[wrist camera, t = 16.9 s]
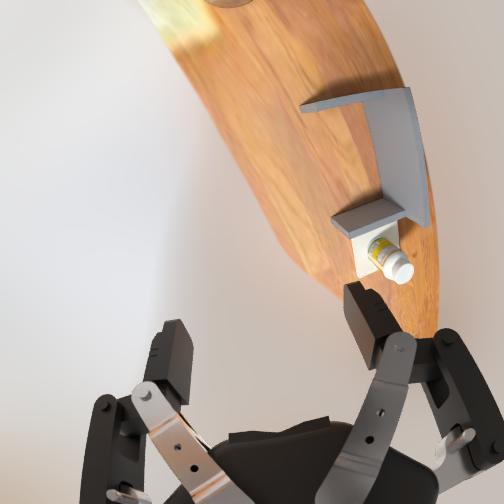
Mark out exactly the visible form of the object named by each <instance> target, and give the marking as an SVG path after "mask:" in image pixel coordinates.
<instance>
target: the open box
mask: <svg viewBox="0 0 504 504" xmlns="http://www.w3.org/2000/svg"><path fill="white" fill-rule="evenodd" d="M358 102H362V103H363V107H364V110H365V114H366V118H367V122H368V125H369V129H370V133H371V138H372V142H373V146H374V151H375V156H376V160H377V166H378V171H379V176H380V182H381V188H382V194H383V198H382V199H379V200H376V201H374V202H371V203H368V204H365V205H363V206H360V207H357V208H355V209H352V210H349V211H346V212H344V213H341V214H338V215H335V216H333V217H331V221H332V224H333V225H334V226H335V227H337V228H338V229H339V230H340V231H341V232H342V233H343V234H344V235H345V236H346V237H347V238H348V239H349V240H350V239H352V238H355V237H357V236H360V235H362V234H365V233H367V232H370V231H372V230H375V229H377V228H380V227H382V226H385V225H387V224H390V223H392V222H395V221H397V220H399V219H402V218H404V217H407V218H409V219H410V220H412V221H414V222H415V223H417V224H419V225H420V226H422V227H423V228H426V227H428V226H430V213H429V196H428V184H427V174H426V166H425V158H424V151H423V145H422V139H421V134H420V128H419V123H418V118H417V114H416V109H415V105H414V101H413V97H412V93H411V90H410V87H404V88H393V89H384V90H376V91H369V92H362V93H357V94H351V95H346V96H341V97H336V98H331V99H327V100H322V101H318V102H314V103H310V104H306V105H302V106H299V108H300V111H301V113H309V112H317V111H321V110H326V109H330V108H334V107H339V106H343V105H348V104H353V103H358Z"/></svg>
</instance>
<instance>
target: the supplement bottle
mask: <svg viewBox="0 0 504 504" xmlns="http://www.w3.org/2000/svg"><path fill="white" fill-rule="evenodd" d="M367 257H368V259H369V260H370V261H371V262H372V263H373V264H374V265H375V266H376V267H377V268H378V269H379V270H380V271H381V272H382V273H383V275H384V276H385V277H387V278H388V279H391V280H394V281H396V282H397V283H398V284H404V283H406V282H408V281H409V280H410V279H411V277H412V275H413V273H414V267H413V265H412V264H411V263H410V262H409V260H408V257H407V255H406V254H405V253H404V252H403V251H402V250H400V249H399V248H398V247H397V246H395V245H394V244H393V243H392V242H390V241H389V240H388V239H386V238H385V237H377V238H374V239H373V240H372V241H371V242H370V243H369V245H368V247H367Z"/></svg>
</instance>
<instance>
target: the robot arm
mask: <svg viewBox="0 0 504 504" xmlns="http://www.w3.org/2000/svg"><path fill="white" fill-rule="evenodd" d="M205 1H206V2H208V3H209V4H211V5H214V6H217V7H223V8H233V7H239V6H242V5H245V4H247V3H249V2H250V1H252V0H205ZM344 314H345V318H346V320H347V322H348V324H349V326H350V329H351V331H352V333H353V335H354V338H355V340H356V342H357V344H358V347H359V349H360V351H361V354H362V356H363V358H364V360H365V363H366V365H367V367H368V370H372V369H375V368H376V370H377V371H376V374H375V377H374V379H373V381H372V383H371V385H370V388H369V391H368V393H367V396H366V398H365V401H364V403H363V405H362V408H361V410H360V412H359V415H358V417H357V419H356V421H355V424H354V425H351V424H348V423H345V422H338V421H330V420H329V416H326V417H322V418H318V419H314V420H310V421H305V422H303V423H300V424H298V425H296V426H293V427H291V428H289V429H286V430H284V431H282V432H277V433H276V432H260V431H247V432H238V433H229V439H228V440H225V441H223V442H221V443H219V444H218V445H216V446H214V447H213V448H211V447H210V445H208V443H206V441H205V440H204V439H203V438H202V437H201V436H200V435H199V434H198V433H197V431H196V430H195V429H194V428H193V427H192V426H191V424H190V423H189V422H188V420H187V419H186V418H185V417H184V415H183V414H182V413H181V412H180V411H181V405H189V395H190V382H191V371H192V361H193V343H192V340H191V337H190V336H189V334H188V332H187V330H186V328H185V326H184V324H183V323H182V321H181V320H180V319H176V320H170V321H165V323H164V326H163V330H162V332H159V333H157V334H156V336H155V337H154V339H153V340H152V344H151V348H150V350H151V351H150V352H149V357H148V361H147V365H146V369H145V374H144V379H143V382H142V383H140V384H139V385H137V386H136V387H135V388H134V390H133V391H132V394H131V395H129V396H126V397H123V398H119V399H116V398H115V397H113V396H112V395H110V394H105V395H102V396H101V397H99V398H98V399H97V400H96V402H95V404H94V408H93V412H92V417H91V422H90V427H89V432H88V437H87V443H86V449H85V456H84V463H83V471H82V479H81V489H80V502H79V503H80V504H152V503H151V499H150V498H149V496H148V495H147V494H146V493H144V467H145V447H146V434H147V433H148V435H149V437H150V439H151V440H152V442H153V444H154V445H155V447H156V448H157V450H158V451H159V453H160V454H161V455H162V457H163V459H164V460H165V461H166V463H167V464H168V466H169V467H170V469H171V470H172V471H173V473H174V474H175V475H176V477H177V478H178V479H179V480H180V482H181V483H182V484H181V485H180V486H179V487H178V488H177V489H176V490H175V491H174V493H173V494H172V495H171V496H170V497H169V498H168V499H167V500H166V502H164V504H436V501H437V497H438V494H440V493H442V492H444V491H446V490H448V489H449V488H452V487H454V486H455V485H457V484H459V483H461V482H462V481H464V480H467V479H469V478H472V477H474V476H476V475H478V474H480V473H482V472H483V471H486V470H487V469H489V468H491V467H493V466H495V465H496V464H498V463H500V462H502V461H503V460H504V420H503V417H502V415H501V413H500V411H499V408H498V406H497V404H496V402H495V400H494V398H493V395H492V393H491V391H490V389H489V387H488V385H487V383H486V381H485V379H484V377H483V375H482V374H481V372H480V370H479V368H478V367H477V364H476V363H475V361H474V359H473V357H472V356H471V354H470V352H469V351H468V349H467V347H466V345H465V344H464V342H463V341H462V339H461V337H460V336H459V334H458V333H457V332H456V331H454V330H452V329H449V328H444V329H440V330H439V331H437V332H436V333H435V335H434V338H423V339H417V338H414V337H413V336H412V335H411V334H409V333H406V332H403V331H402V329H401V327H400V326H399V324H398V323H397V321H396V319H395V318H394V316H393V314H392V313H391V311H390V310H389V309H388V307H387V305H386V303H384V300H383V299H382V297H381V296H380V294H379V293H377V292H376V291H374V290H373V289H367V290H365V289H364V287H363V285H362V284H361V282H360V281H356V282H352V283H349V284H345V285H344ZM411 383H421V385H422V387H423V390H424V392H425V394H426V397H427V399H428V402H429V404H430V407H431V409H432V412H433V415H434V417H435V420H436V423H437V425H438V428H439V431H440V434H441V437H442V440H441V441H440V442H439V443H438V445H437V447H436V453H435V454H436V463H435V466H434V468H433V469H432V470H431V469H430V468H429V467H427V466H425V465H423V464H421V463H420V462H418V461H416V460H414V459H412V458H410V457H408V456H406V455H404V454H403V453H401V452H399V451H397V450H395V449H393V448H392V447H390V443H391V440H392V438H393V435H394V432H395V430H396V427H397V424H398V421H399V418H400V415H401V412H402V409H403V406H404V402H405V399H406V396H407V392H408V384H411Z"/></svg>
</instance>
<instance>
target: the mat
mask: <svg viewBox="0 0 504 504" xmlns="http://www.w3.org/2000/svg"><path fill="white" fill-rule="evenodd" d="M377 237H385V238H386V239H388V240H389V241H390V242H392V243H393V244H394V245H395V246H397V247H398V248H399V235H398V223H397V221H395V222H392V223H390V224H387V225H385V226H382V227H380V228H377V229H375V230H372V231H370V232H367V233H365V234H362V235H360V236H357V237H355V238H352V239H351V241H352V246H353V252H354V259H355V265H356V272H357V276H358V277H359V278H361V277H363V276H366V275H368V274H370V273H372V272H375V271H377V270H379V269H378V268H377V267H376V266H375V265H374V264H373V263H372V262H371V261H370V260H369V259H368V257H367V247H368V245H369V243H370V242H371V241H372V240H373V239H374V238H377Z"/></svg>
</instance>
